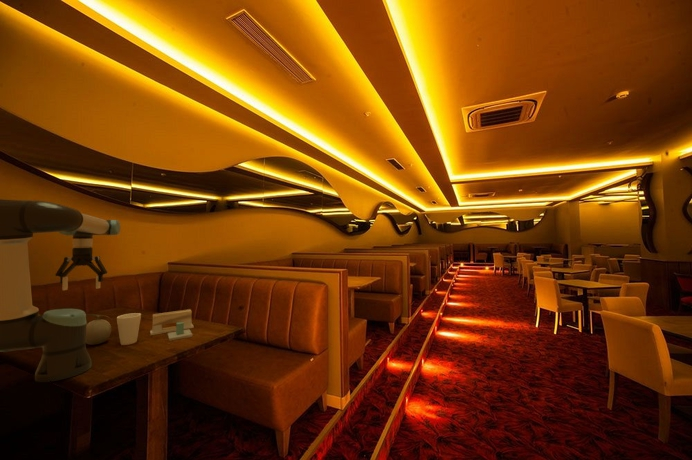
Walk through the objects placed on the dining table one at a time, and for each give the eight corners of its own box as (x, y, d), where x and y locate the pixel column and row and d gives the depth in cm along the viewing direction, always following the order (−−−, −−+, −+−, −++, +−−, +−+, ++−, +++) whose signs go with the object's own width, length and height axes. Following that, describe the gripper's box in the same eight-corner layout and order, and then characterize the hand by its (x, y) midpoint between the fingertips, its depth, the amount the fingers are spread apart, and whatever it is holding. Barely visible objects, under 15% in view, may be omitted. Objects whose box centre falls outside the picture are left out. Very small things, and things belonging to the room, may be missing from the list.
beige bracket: (193, 327, 160) (193, 319, 160) (150, 335, 148) (150, 326, 148) (191, 325, 164) (191, 317, 164) (150, 332, 152) (150, 323, 152)
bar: (191, 319, 159) (191, 310, 160) (153, 325, 149) (153, 316, 149) (190, 317, 163) (190, 309, 164) (152, 323, 153) (152, 314, 153)
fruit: (118, 340, 141) (118, 310, 141) (92, 349, 130) (92, 316, 130) (102, 338, 143) (103, 308, 144) (76, 346, 132) (76, 314, 133)
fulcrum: (192, 336, 145) (192, 323, 145) (169, 341, 139) (169, 327, 139) (189, 331, 153) (189, 319, 153) (167, 335, 147) (167, 322, 147)
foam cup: (112, 344, 135) (112, 316, 136) (134, 338, 144) (134, 312, 144) (122, 347, 131) (123, 319, 131) (144, 341, 139) (144, 314, 140)
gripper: (115, 246, 151) (114, 286, 150) (56, 247, 144) (55, 289, 143) (108, 246, 144) (107, 288, 143) (46, 247, 137) (45, 292, 136)
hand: (81, 289), depth 143 cm, fingers open, 13 cm apart
